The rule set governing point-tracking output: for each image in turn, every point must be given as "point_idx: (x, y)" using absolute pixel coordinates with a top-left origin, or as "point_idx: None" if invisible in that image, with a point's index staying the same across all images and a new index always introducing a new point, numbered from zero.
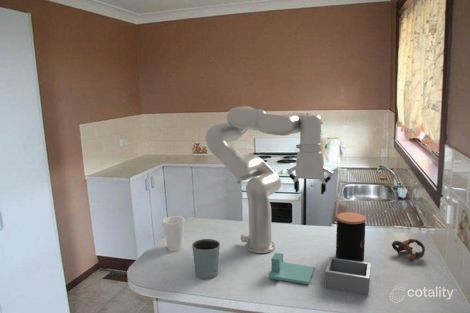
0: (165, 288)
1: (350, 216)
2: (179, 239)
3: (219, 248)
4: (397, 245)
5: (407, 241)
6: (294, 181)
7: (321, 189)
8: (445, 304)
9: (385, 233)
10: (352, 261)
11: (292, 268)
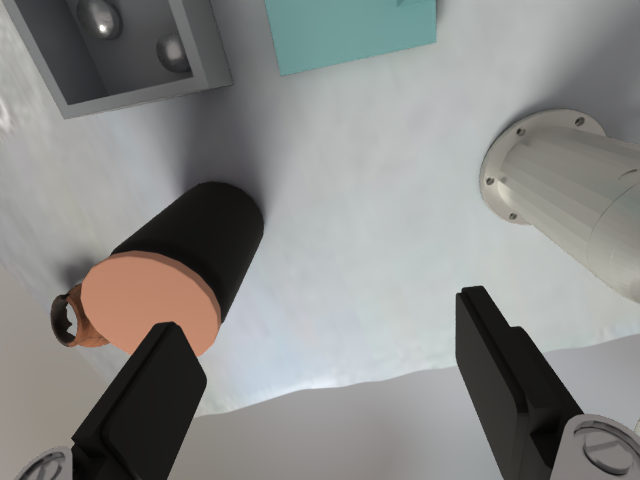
0: None
1: (155, 318)
2: None
3: None
4: None
5: (79, 328)
6: (597, 430)
7: (144, 366)
8: None
9: (212, 392)
10: (120, 97)
11: (353, 9)
